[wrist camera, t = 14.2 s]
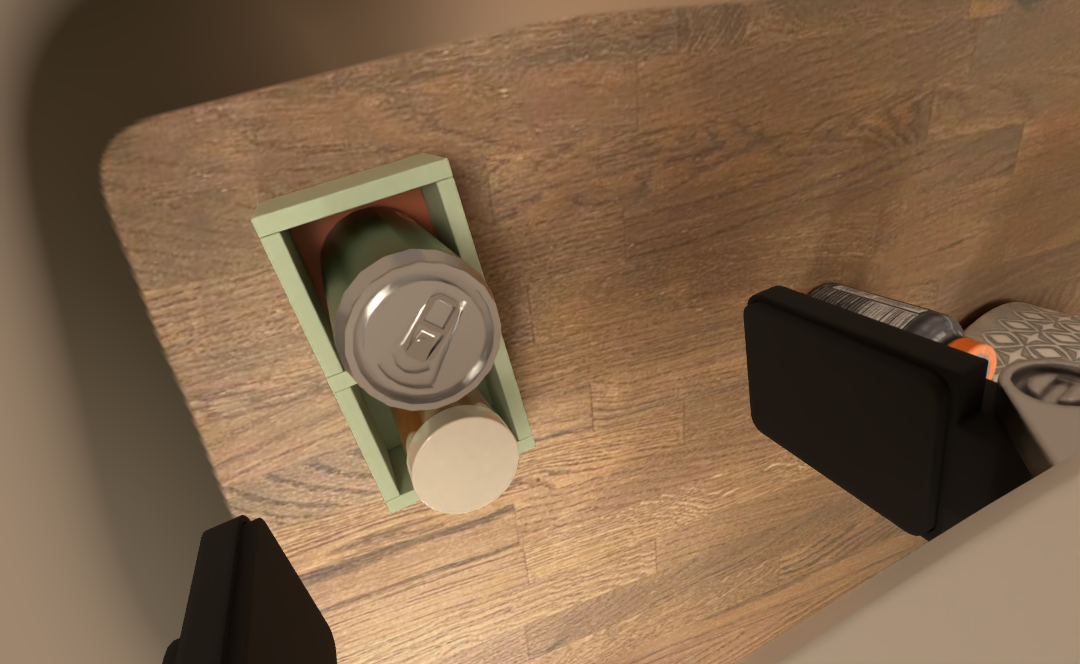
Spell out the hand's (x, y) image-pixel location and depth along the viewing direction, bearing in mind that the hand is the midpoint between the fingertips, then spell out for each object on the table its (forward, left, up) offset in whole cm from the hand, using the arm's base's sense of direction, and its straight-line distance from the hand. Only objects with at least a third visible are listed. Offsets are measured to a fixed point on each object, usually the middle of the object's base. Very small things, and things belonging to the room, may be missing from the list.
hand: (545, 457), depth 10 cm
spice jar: (+8, -1, -21) cm, 22 cm away
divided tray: (+4, -1, -21) cm, 22 cm away
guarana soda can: (+1, -1, -21) cm, 21 cm away
